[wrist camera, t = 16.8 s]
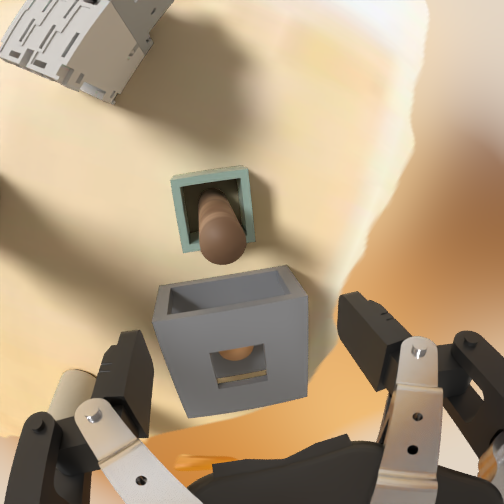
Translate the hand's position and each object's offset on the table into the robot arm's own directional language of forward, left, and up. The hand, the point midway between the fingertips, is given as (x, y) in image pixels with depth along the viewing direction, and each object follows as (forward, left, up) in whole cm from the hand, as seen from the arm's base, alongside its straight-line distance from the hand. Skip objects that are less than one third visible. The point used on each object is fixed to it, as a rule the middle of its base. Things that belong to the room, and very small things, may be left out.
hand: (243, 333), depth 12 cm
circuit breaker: (-8, +21, -24) cm, 33 cm away
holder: (0, 0, -24) cm, 24 cm away
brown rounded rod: (0, 0, -24) cm, 24 cm away
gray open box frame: (0, -17, -24) cm, 29 cm away
